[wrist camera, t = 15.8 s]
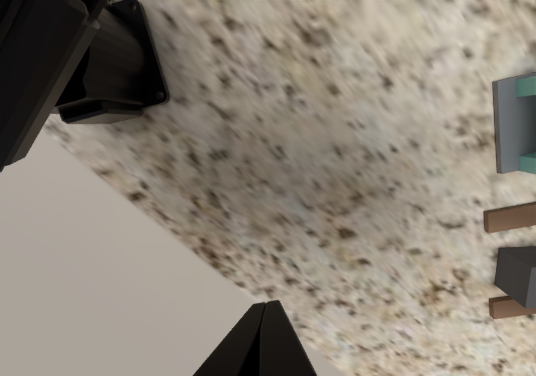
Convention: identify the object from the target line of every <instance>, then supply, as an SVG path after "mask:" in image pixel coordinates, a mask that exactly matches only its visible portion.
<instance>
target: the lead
mask: <svg viewBox="0 0 536 376" xmlns="http://www.w3.org/2000/svg"><path fill="white" fill-rule="evenodd" d="M494 284H495V285H496V286H497V287H498V288H500V289H501V290H502V291H503V292H505V293H506V294H507V295H509V296H510V297H511V298H512V299H514V300H515V301H516V302H518V303H519V304H520V305H521V306H523V307H524V308H525V309H526V308H536V246H533V247H509V248H499V251H498V259H497V267H496V275H495V283H494Z"/></svg>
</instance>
